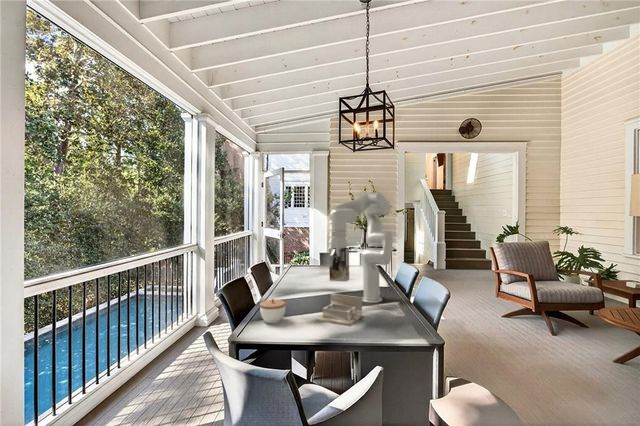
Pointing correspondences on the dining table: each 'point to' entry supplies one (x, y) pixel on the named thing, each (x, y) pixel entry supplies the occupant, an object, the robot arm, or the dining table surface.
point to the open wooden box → (342, 310)
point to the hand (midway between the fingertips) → (339, 268)
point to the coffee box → (340, 266)
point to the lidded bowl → (272, 310)
